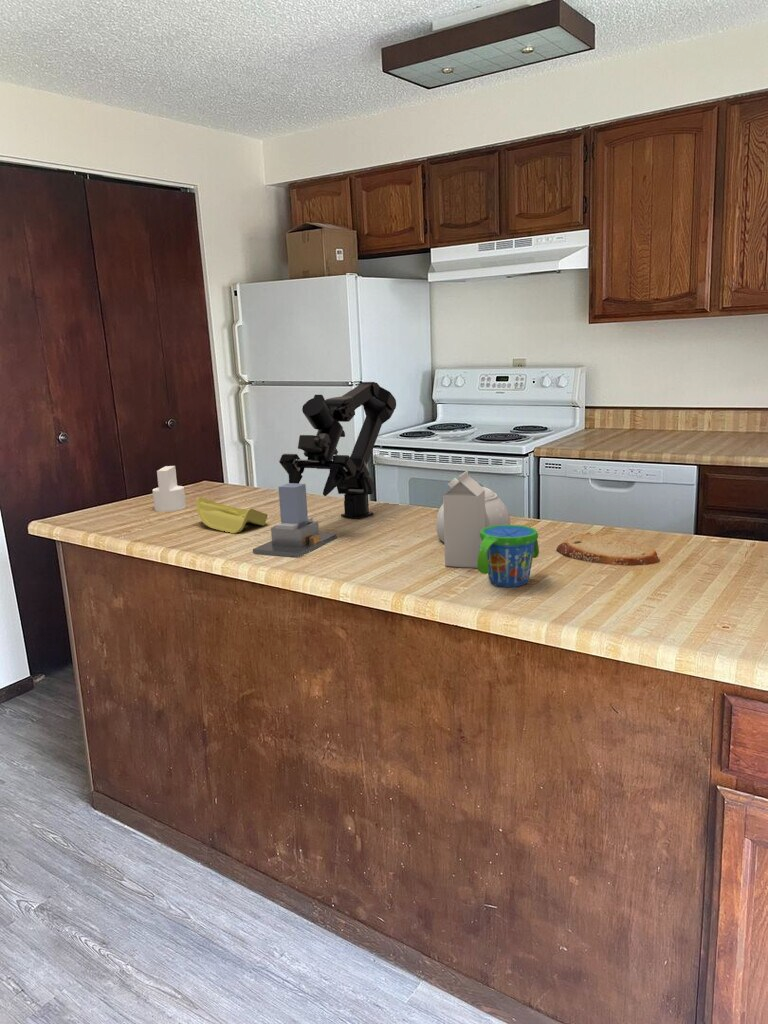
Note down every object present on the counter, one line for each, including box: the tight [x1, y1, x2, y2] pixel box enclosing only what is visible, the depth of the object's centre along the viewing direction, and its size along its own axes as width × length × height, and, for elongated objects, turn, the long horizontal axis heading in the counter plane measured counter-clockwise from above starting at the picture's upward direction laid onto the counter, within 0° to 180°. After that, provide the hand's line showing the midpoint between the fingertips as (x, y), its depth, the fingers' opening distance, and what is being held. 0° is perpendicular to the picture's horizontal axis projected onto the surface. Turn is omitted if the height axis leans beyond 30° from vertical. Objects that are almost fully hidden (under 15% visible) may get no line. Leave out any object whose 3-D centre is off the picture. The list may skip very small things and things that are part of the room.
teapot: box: [435, 481, 511, 543], centre depth 179 cm, size 19×18×14 cm
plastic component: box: [195, 496, 269, 534], centre depth 204 cm, size 20×7×10 cm
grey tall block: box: [275, 482, 314, 530], centre depth 180 cm, size 9×4×13 cm, turn 155°
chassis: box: [252, 520, 338, 558], centre depth 181 cm, size 18×12×5 cm, turn 155°
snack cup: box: [476, 524, 540, 588], centre depth 147 cm, size 16×10×10 cm
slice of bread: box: [555, 532, 660, 566], centre depth 163 cm, size 18×18×4 cm
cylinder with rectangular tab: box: [152, 465, 187, 513], centre depth 229 cm, size 9×9×12 cm
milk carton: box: [442, 469, 485, 569], centre depth 160 cm, size 7×7×19 cm
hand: (307, 494), depth 185 cm, fingers open, 9 cm apart
